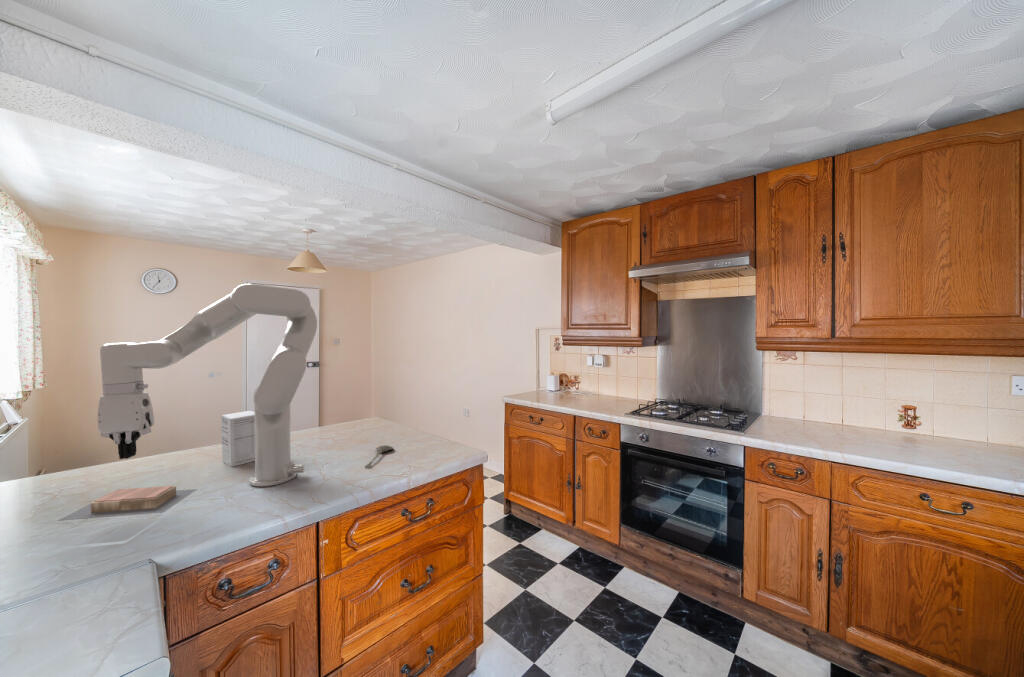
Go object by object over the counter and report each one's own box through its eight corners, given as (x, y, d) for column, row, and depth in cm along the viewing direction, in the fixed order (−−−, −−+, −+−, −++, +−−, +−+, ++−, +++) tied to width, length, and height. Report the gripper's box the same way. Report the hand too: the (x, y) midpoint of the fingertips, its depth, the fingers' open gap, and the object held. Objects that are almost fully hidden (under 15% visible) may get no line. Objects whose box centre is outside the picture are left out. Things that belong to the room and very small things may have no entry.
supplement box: (251, 454, 141) (251, 410, 140) (262, 459, 136) (261, 413, 135) (221, 461, 133) (220, 414, 133) (230, 467, 128) (229, 418, 127)
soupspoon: (396, 450, 150) (379, 451, 150) (395, 442, 150) (379, 443, 150) (376, 469, 128) (357, 470, 128) (376, 459, 128) (356, 460, 128)
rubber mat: (197, 490, 109) (197, 489, 109) (162, 514, 96) (162, 512, 96) (107, 496, 105) (107, 495, 105) (58, 522, 91) (58, 520, 91)
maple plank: (117, 498, 103) (176, 494, 106) (91, 512, 95) (155, 507, 98) (117, 489, 103) (176, 485, 106) (90, 502, 95) (155, 497, 98)
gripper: (166, 385, 104) (170, 450, 105) (102, 388, 101) (106, 454, 102) (145, 389, 97) (150, 459, 98) (76, 393, 94) (81, 464, 95)
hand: (127, 456), depth 100 cm, fingers closed
